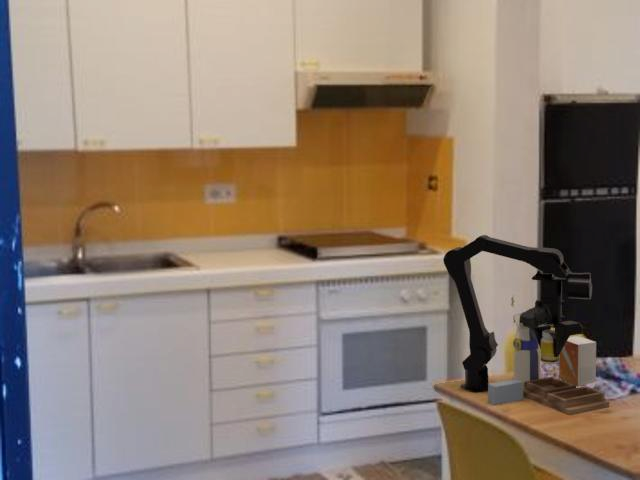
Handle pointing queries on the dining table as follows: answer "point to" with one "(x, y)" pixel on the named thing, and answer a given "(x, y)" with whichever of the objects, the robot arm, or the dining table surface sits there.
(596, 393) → the jig
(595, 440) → the dining table surface
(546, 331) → the supplement bottle
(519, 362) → the water bottle
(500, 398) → the blue-gray rectangular block
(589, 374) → the small box
